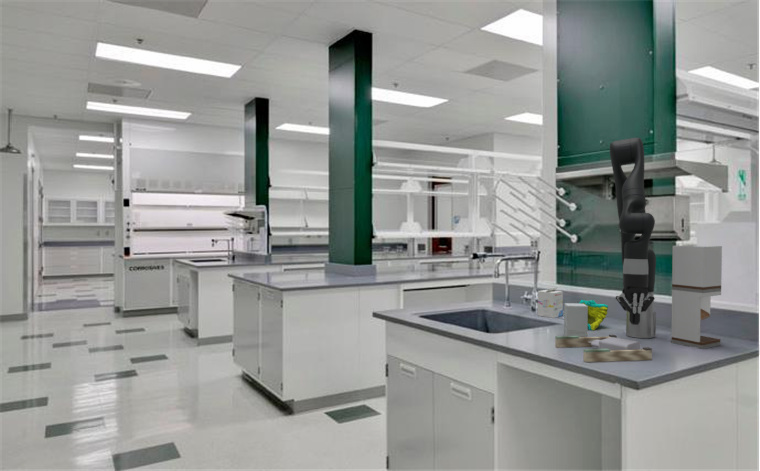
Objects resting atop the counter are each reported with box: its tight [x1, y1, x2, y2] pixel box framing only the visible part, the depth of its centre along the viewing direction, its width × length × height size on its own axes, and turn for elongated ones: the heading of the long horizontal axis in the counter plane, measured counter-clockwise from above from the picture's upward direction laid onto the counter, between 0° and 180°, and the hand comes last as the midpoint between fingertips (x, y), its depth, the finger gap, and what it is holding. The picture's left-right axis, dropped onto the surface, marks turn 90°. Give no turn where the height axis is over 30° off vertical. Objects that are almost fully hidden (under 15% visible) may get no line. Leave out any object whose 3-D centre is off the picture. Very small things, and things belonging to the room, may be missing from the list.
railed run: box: [554, 334, 653, 363], centre depth 166 cm, size 22×20×4 cm
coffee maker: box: [670, 244, 723, 350], centre depth 179 cm, size 11×11×35 cm
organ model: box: [578, 299, 609, 332], centre depth 209 cm, size 15×12×13 cm
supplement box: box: [563, 302, 589, 337], centre depth 188 cm, size 7×7×13 cm
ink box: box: [537, 286, 564, 319], centre depth 234 cm, size 9×8×13 cm
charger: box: [588, 337, 641, 350], centre depth 167 cm, size 5×9×15 cm
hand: (634, 324), depth 167 cm, fingers closed
